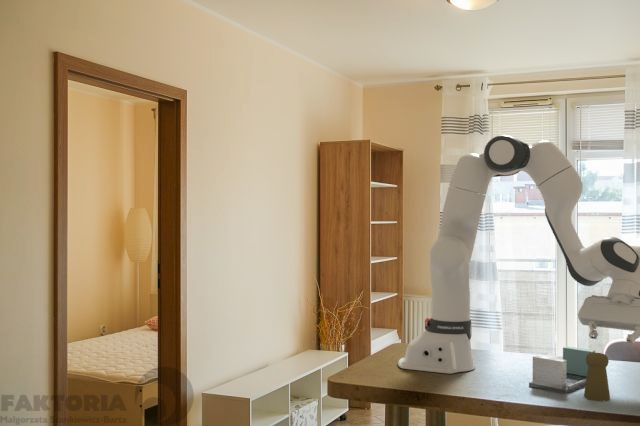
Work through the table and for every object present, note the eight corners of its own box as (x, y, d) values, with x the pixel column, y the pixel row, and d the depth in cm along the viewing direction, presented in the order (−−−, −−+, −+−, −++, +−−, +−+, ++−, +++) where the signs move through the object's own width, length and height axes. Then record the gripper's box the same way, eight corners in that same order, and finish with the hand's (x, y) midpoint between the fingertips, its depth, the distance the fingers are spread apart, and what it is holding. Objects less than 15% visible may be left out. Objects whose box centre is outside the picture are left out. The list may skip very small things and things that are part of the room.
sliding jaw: (591, 377, 179) (591, 351, 179) (562, 372, 185) (562, 347, 185) (595, 375, 181) (595, 350, 181) (566, 370, 186) (566, 346, 186)
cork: (584, 399, 161) (584, 354, 161) (583, 393, 167) (583, 350, 167) (610, 402, 159) (611, 356, 159) (609, 395, 165) (609, 351, 165)
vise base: (565, 394, 166) (565, 362, 166) (529, 386, 173) (529, 356, 173) (600, 379, 181) (600, 350, 181) (565, 373, 188) (565, 345, 188)
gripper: (583, 287, 182) (567, 327, 175) (663, 293, 167) (649, 337, 160) (590, 302, 185) (575, 341, 178) (668, 309, 170) (655, 353, 163)
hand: (610, 339), depth 169 cm, fingers open, 8 cm apart
